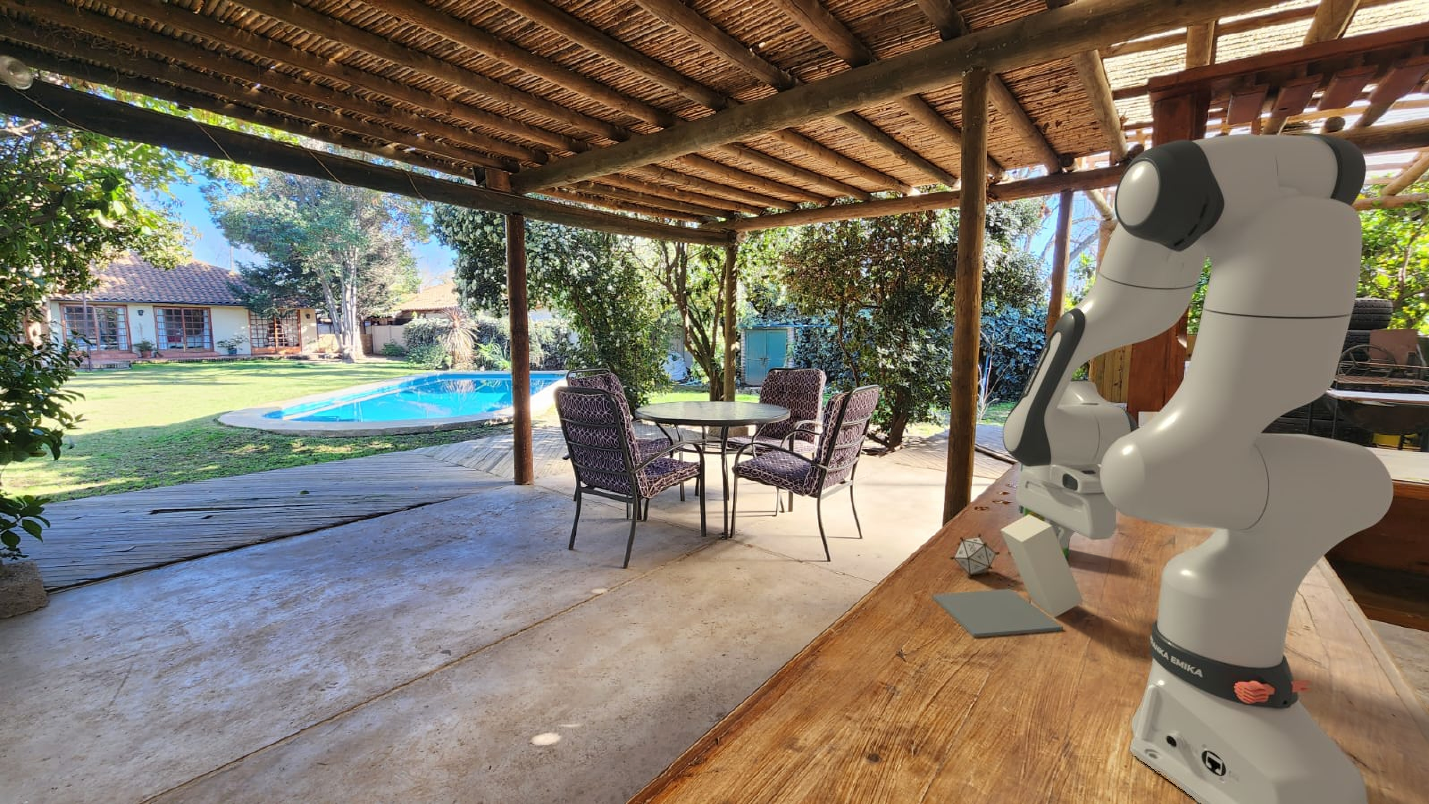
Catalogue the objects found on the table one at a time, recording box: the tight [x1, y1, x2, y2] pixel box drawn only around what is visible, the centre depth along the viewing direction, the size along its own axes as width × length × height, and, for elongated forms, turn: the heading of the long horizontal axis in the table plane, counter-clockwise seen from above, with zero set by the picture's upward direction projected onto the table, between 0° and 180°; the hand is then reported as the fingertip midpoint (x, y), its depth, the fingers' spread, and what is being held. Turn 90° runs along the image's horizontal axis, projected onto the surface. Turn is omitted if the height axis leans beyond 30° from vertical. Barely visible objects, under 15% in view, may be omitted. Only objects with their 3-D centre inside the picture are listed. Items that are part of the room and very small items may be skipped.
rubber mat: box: [931, 588, 1064, 638], centre depth 101 cm, size 14×16×1 cm
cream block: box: [1000, 514, 1084, 618], centre depth 100 cm, size 6×6×16 cm
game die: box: [948, 533, 1001, 579], centre depth 116 cm, size 9×8×10 cm
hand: (1058, 545), depth 100 cm, fingers closed
